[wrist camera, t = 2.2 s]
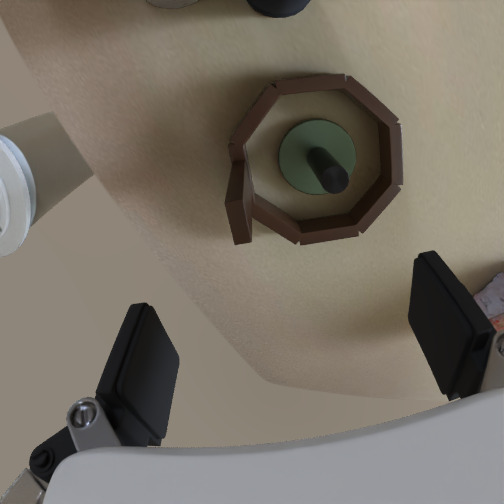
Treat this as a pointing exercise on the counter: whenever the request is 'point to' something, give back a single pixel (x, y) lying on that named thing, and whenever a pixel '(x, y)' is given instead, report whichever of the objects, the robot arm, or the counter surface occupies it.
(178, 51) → the counter surface
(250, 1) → the navy water bottle
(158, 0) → the thermos bottle
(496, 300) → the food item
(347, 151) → the post
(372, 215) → the ring
